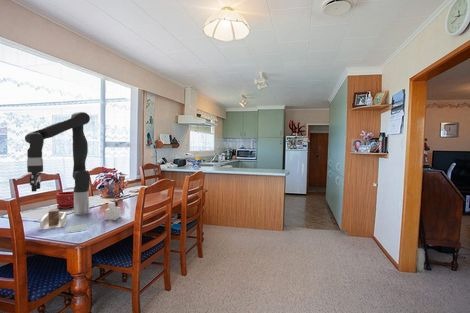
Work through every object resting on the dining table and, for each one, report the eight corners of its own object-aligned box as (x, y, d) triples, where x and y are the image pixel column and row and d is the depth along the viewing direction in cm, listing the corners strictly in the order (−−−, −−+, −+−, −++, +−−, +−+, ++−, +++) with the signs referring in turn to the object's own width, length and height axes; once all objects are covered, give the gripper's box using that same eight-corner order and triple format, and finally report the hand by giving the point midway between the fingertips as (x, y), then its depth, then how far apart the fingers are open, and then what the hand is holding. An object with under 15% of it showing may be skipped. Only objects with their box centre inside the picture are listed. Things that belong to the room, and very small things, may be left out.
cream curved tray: (67, 220, 155) (67, 211, 155) (64, 228, 141) (64, 218, 141) (45, 223, 149) (44, 214, 149) (39, 231, 135) (38, 221, 135)
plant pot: (60, 210, 177) (60, 195, 176) (53, 207, 184) (53, 193, 184) (79, 207, 188) (79, 192, 187) (72, 204, 195) (72, 190, 195)
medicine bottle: (110, 216, 165) (110, 200, 165) (120, 217, 165) (120, 200, 164) (105, 219, 158) (105, 202, 157) (115, 220, 158) (115, 203, 157)
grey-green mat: (87, 225, 146) (87, 224, 146) (86, 230, 137) (85, 229, 137) (67, 228, 141) (67, 226, 141) (65, 233, 132) (65, 231, 132)
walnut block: (59, 222, 147) (58, 209, 147) (57, 225, 143) (57, 210, 143) (50, 223, 145) (50, 209, 144) (48, 226, 141) (48, 211, 140)
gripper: (39, 165, 139) (40, 191, 140) (45, 163, 151) (46, 187, 152) (23, 165, 135) (24, 192, 136) (30, 163, 147) (31, 188, 148)
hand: (36, 190), depth 144 cm, fingers open, 8 cm apart
